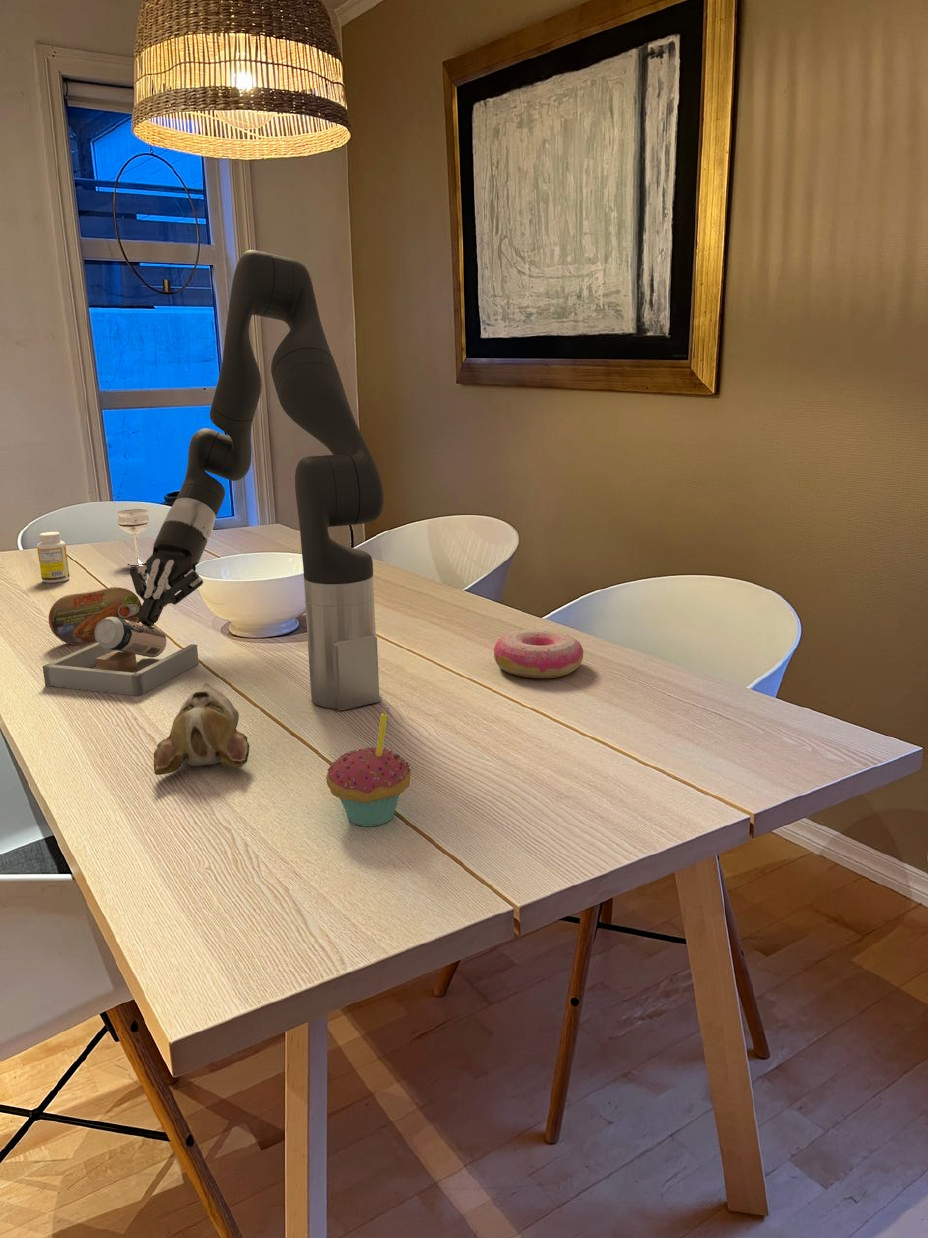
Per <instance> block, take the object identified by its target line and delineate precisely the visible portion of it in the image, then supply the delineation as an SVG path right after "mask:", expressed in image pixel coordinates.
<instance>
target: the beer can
mask: <svg viewBox="0 0 928 1238" xmlns="http://www.w3.org/2000/svg"><path fill="white" fill-rule="evenodd" d="M94 633H95V639H96V641H95V642H96V643H97V642H98V643H99V645H101V646H102V647H103V648H106V649H111V650H116V651H119V652H127V653H134V654H136V655H138V656H143V657H147V658H156V657H159V656H160V655H162V654H163V652H164V651H165V649H166V646H167V636H166V633H165V632H164V631H163V629H161V628H159V627H155V626H148V625H144V624H142V623H141V622H140V623H136V622H132V621H128V620H124V619H120V618H116V617H107V618H105V619H103V620H101V621H100V622H99V623H98V624H97V626H96V628H95V631H94Z"/></svg>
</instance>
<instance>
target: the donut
mask: <svg viewBox="0 0 928 1238" xmlns="http://www.w3.org/2000/svg"><path fill="white" fill-rule="evenodd" d="M493 658H494V661H495V662H496V665H497V666H498V667H499V668H500V669H502V670H503V671H504V672H506V673H508V674H511V675H514V676H517V677H523V678H531V679H554V678H556V679H557V678H559V677H560V678H561V677H564V676H567V675H570V674H571V673H573V672H574V671H575V670H577V669H578V668H579V667H580V666H581V663H582V662H583V659H584V649H583V646H582V644H581V643H580V641H578V639H576V638H575V637H573V636H572V635H570V634H569V633H564V632H562V631H561V632H560V631H556V630H551V629H523V630H521V629H520V630H515V631H510V632H507V633H505V634H504V635H502V636H501V637H500V638H498V639H497V641H496V643H495V644H494V647H493Z"/></svg>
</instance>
